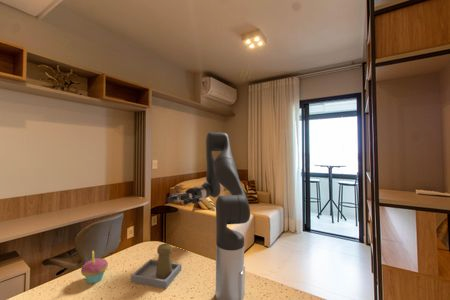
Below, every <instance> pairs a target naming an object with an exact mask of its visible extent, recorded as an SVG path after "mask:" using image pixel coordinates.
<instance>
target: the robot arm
mask: <svg viewBox="0 0 450 300" xmlns="http://www.w3.org/2000/svg"><path fill="white" fill-rule="evenodd" d="M205 149H206V150H205V152H206V154H205V156H206V157H205V158H206V174H205V175H206V176H205V180H206V181H205V182H203V184H202V185H198V186H193V187H189V188H188V189H186V190H185V192H181V193H180V192H176V193H171V194H169V197H167V198H166V201H167V204H170V203H172V202H183V205H184V206H187V205H189V204H190V205H194V204H195V205H196V204H199V203H200V202H202V201H203V200H205V199H207V198H208V197H209V198H210V197H212V198H217V199H216V202H215V219H216V221H215V223H216V224H215V225H216V227H215V228H216V233H215V234H216V235H215V239H216V242H215V246H216V248H215V299H216V300H244V297H245V294H246V292H245V291H246V287H245V285H246V265H245V237H244V235H243V234H242V233H241V232H239V231H237V230H235V229H234V230H233V229H231V228H229V227H227V226H228V225H242V224H247V223H248V222H249V221H250V217H251V209H250V208H251V207H250V204H249V201H248V197H247V195H246V192H245V191H244V190H245V189H244V188H243V185H242V183H241V180H240V176H239V172H238V169H237V168H238V167H237V166H236V162H235V159H234V156H233V153H232V152H233V151H232V147H231V143H230V137H229V135H228V134H227V133H226V132H212V131H211V132H208V133H207V134H206V139H205ZM213 152H220V153H219V154H218V155H217V156H216V157H214V154H213ZM221 186H223V187H224V188H225V189H226V190H228V192H229V193H230V194H228V195H227V194H226V195H225V194H224V195H223V194H222V195H220V194H221V190H222V189H221Z"/></svg>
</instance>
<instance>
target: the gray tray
mask: <svg viewBox="0 0 450 300" xmlns="http://www.w3.org/2000/svg"><path fill="white" fill-rule="evenodd" d="M157 264H158V259H151V258H150V259H149V260H147V262H145V263H144V264H142V266H141V267H139V268H138V269H137V270H136V271H135V272H133V273H132V274H131V276H130V283H133V284H138V285H143V286H148V287H154V288H159V289H164V290H167V289H168V287H169V286H170V285H171V284H172V282H173V281H174V280H175V279H176V277H177V276H178V275H179V274H180V273H181V271H182V263H177V262H173V261H171V266H172V273H171V274H170V275H169V276H168V277H167V278H165V279H159V278H157V277H156V271H157Z"/></svg>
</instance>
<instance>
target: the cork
mask: <svg viewBox="0 0 450 300" xmlns="http://www.w3.org/2000/svg"><path fill="white" fill-rule="evenodd" d="M156 252H157V254H158V257H157V258H158V259H157V260H158V264H157V271H156V277H157V278H159V279H165V278H167V277H168V276H169V275H170V274H171V273H172V266H171V262H172V259H171V252H172V245H171V244H170V243H161V244H159V245H158V247H157V250H156Z"/></svg>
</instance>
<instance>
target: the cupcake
mask: <svg viewBox="0 0 450 300" xmlns="http://www.w3.org/2000/svg"><path fill="white" fill-rule="evenodd" d="M91 255H92V256H91V257H92V258H91V259H89V260H88V261H86V262H85V263H84V264H83V265H81V268H80V273H81V275H82V276H83V277H84V278H85V280H86V282H87V284H96V283H98V282H100V281H101V280H102V279H103V277H104V273H105V272H106V270H108V269H107V268H108V266H109V265H108V263H109V262H108V260H106V259H105V258H99V257H95V251H94V250H92V251H91Z"/></svg>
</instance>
